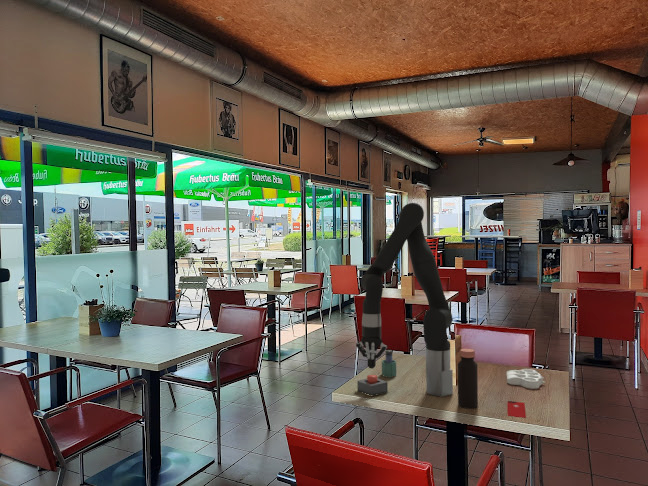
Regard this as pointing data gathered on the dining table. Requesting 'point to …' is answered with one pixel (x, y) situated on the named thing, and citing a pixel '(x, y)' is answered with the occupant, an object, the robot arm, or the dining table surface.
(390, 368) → the pen cup
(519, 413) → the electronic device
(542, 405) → the dining table surface
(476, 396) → the bottle
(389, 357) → the marker
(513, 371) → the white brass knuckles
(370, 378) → the button
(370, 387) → the button console
